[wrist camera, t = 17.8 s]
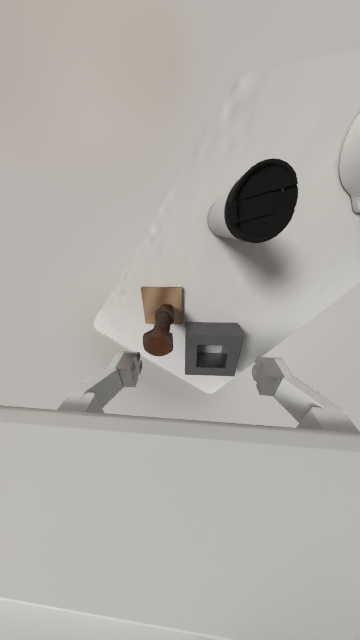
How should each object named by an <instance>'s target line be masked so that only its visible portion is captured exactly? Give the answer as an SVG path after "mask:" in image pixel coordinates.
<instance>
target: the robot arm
mask: <svg viewBox="0 0 360 640" xmlns="http://www.w3.org/2000/svg"><path fill="white" fill-rule="evenodd" d="M339 172H340V179H341V182H342V185H343V187H344V188H345V190H346V191H347V192H348V193H349V194H350V196H351V198H352V206H353V210H354V212H355V213H360V113H359V114H358V116H357V118H356V119H355V121H354V123H353V125H352V126H351V128H350V130H349V132H348V135H347V137H346V140H345V142H344V145H343V149H342V152H341V157H340V165H339ZM255 363H256V364H255V365H254V366H253V368H252V375H253V378H254V380H255V381H256V382H257V385H256V386H257V389H258V391H259V394H260V395H268V396H273V397H274V398H275V399H276V400H277V401H278V402H279V403H280V404H281V405H282V406H283V407H284V408H285V409H286V410H287V411H288V412H289V413H290V414H291V415H292V416H293V417H294V418H295V419H296V420H297V421H298V422H299V423H300V424H299V425H298V426H297V428H290V427H275V426H264V425H250V424H249V425H248V424H237V423H222V422H210V421H197V420H184V419H170V418H156V417H143V416H130V415H117V414H105V413H104V412H103V410H102V408H103V407H104V406H105V405H106V404H107V403H108V402H109V401H110V400H111V399H112V398H113V397H114V396H115V395H116V394H117V393H118V392H119V391H120V390H121V389H122V388H123V387H135V386H136V384H137V381H138V375H139V374H140V373H141V369H142V361H141V360H140V353H139V352H126V351H118V352H117V353H116V355H115V357H114V358H113V360H112V362H111V363H110V365H109V367H108V368H105V369H104V370H102V371H100V372H99V373H97V374H96V375H94V376H93V377H91V378H90V379H88V380H87V381H85V382H84V383H82V384H81V385H79V386H78V387H76V388H75V389H73V390H72V391H71V392H70V393H69V395H68V396H67V397H66V398H65V400H64V401H63V403H62V404H61V405H60V407H59V408H58V409H57V410H51V409H38V408H37V409H36V408H24V407H12V406H0V640H360V432H359V430H358V429H357V428H356V427H355V425H354V424H353V423H352V421H351V420H350V419H349V418H348V416H347V415H346V414H345V413H344V411H343V410H342V409H341V408H340V407H338V406H337V405H335V404H334V403H332V402H331V401H329V400H328V399H327V398H325V397H324V396H322V395H321V394H319V393H318V392H316V391H314V390H313V389H312V388H310V387H309V386H307V385H306V384H304V383H303V382H302V381H300V380H299V379H297V378H294V377H293V375H292V373H291V372H290V370H289V369H288V367H287V366H286V364H285V363H284V361H283V360H282V359H281V358H263V357H257V358H256V359H255Z"/></svg>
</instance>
